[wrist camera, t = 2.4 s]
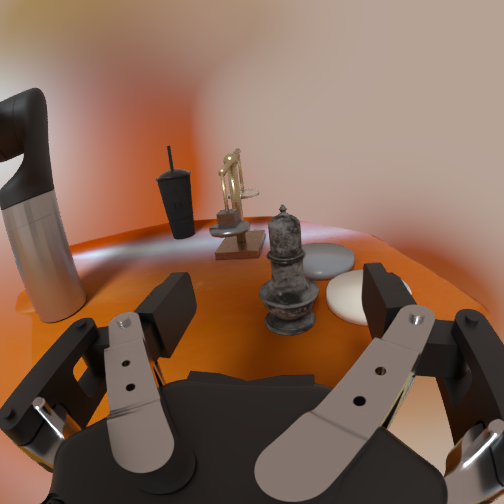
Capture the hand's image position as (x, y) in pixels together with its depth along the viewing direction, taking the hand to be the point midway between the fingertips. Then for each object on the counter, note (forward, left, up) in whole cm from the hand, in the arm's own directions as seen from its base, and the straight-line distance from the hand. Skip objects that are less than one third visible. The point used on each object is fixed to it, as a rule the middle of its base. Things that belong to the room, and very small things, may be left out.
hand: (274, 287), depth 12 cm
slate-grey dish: (+4, +25, -11) cm, 28 cm away
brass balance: (-9, +33, -11) cm, 36 cm away
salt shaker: (0, +12, -11) cm, 17 cm away
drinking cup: (-24, +42, -11) cm, 50 cm away
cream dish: (+9, +15, -11) cm, 21 cm away
